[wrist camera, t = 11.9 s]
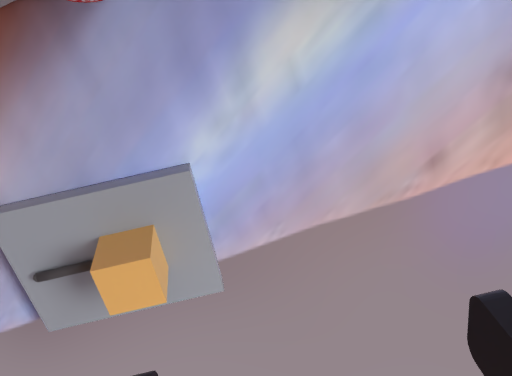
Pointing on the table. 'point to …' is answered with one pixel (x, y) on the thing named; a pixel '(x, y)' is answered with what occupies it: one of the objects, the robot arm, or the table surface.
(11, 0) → the electrical switch
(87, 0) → the soda can
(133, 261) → the orange toy cube
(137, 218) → the grey slider board
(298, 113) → the table surface
